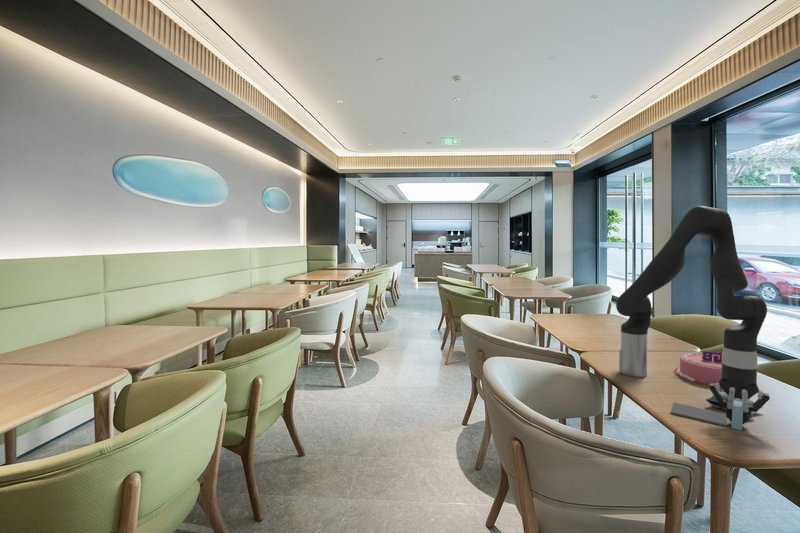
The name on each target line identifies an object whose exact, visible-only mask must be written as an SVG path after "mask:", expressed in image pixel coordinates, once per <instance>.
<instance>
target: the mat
mask: <svg viewBox="0 0 800 533" xmlns="http://www.w3.org/2000/svg"><path fill="white" fill-rule="evenodd" d="M670 414H671V415H675V416H680V417H682V418H687V419H692V420H695V421H700V422H705V423H709V424H713V425H718V426H722V427H727V413H724V412H719V411H714V410H710V409H707V408H706V409H705V408H703V407H701V408H700V407H697V406H692V405H687V404H683V403H677V402H673V404H672V407H671V410H670Z"/></svg>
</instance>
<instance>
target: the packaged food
mask: <svg viewBox="0 0 800 533" xmlns="http://www.w3.org/2000/svg"><path fill="white" fill-rule="evenodd" d="M719 393H720V394H721V396H722V398H723V399H724V400H725V401H727V400H728V395H727V394H726V393H725V391H719ZM734 400H736V401H741V402H742V400H741V399H739V398H734ZM704 401H706V402H708V404H709V405H711V406H712V407H715V408H718V409H721V410H724V411H727V408H726V407H725V406H723V405H720V404H719V402H718V401H717V399H716V398H715V396H714V395H713V394H712V396H711V397H710V396H709V397H708V398H705V400H704ZM754 403H755V402H754V400H751V398H750V399H748V406H752V405H753V404H754ZM760 409H763V406H762V407H761V408H760ZM748 415H752V416H755V412H749V413H748Z"/></svg>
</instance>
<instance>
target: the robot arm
mask: <svg viewBox="0 0 800 533" xmlns="http://www.w3.org/2000/svg"><path fill="white" fill-rule="evenodd" d="M697 235H701V236H705V237H706V236H707V237H709V238H710V239H711V241H712V242H713V244H714V245H713V246H714V253H713V255H712V257H711V261H710V270H711V274H712V276H713V277H712V278H713V280H714V283H715V285H716V311H717V313H718V314H719V315H720V317H722V318H723V319H725V320H728V321H729V320H730V321H741V323H739V325H735V326H731V327H726V328H725V329H724V332H723V349H722V352H721V353H722V373H721V380H720V381H719V383H715V384H713V383H710V384H709V386H708V388H709V390H710V391H711V393H712V395H714V396H715V398H716V399H717V401H718V402H719V404H720V405H723V406H725V407H726V408H727V410H726V420H728V419H729V422H731V421H732V405H733V401H734V398H739V399H741V400H742V405H743V422H742V425H745V423H746V424H747V423H748V422H749V414H748V413H749V412H753V413H757V412H758V411H760V410H761V409H762V408H761V407H763V406H764V405H765V404H766V403H768V401H770V395H769V393H766V392H764V391H762V390H760V388H759V387H758V386H759V385H758V384H757V383H758V382H757V380H758V354H757V349H758V348H757V346H758V335H759V334H760V331H761V328H762V326H763V324H764V322H765V319H766V317H767V315H768V314H767V313H768V306H767V303H766V302H765V300H764V299H762V298H761V297H760V296H755V295H735V294H734V293H737V292H741V291H743V290H746V289H747V288H748V285H749V282H748V279H747V277H746V274H745V272H744V269H743V266H742V265H741V263H740V259H739V257H738V256H739V255H738V252H737V247H736V241H735V233H734V227H733V223H732V218H731V216H730V214H729V213H728V212H727V211H726V210H724V209H722V208H716V207H710V206H705V205H704V206H703V205H697V206H694V207H692V208H690V210H688V211H687V213H686V214H685V215H684V216H683V218H682V219H681V220H680V222H679V223H678V225H677V227H676V229H675V230H674V231H673V233H672V235H671V236H669V239H668V240H667V241H666V243H665V244H664V245H663V246H662V248H661V249H660V250H659V251H658V253H657V254H656V255H655V256H654V257H653V259H652V260H651V261H650V262H649V263H648V265H647V266H646V268H645V269H644V270H643V271H642V272H641V273H640V275H638V277H637V278H636V279H635V281H634V282H632V284H631V285H630V286H629V287H628V288H626V289H625V291H623V293H622V294H620V296H619V297H618V298H617V300H616V305H615V307H616V310H617V312H618V313H619V314H620V315H621V316H624V317H629V318H628V319H627V320H626V321H625V322H623V323H622V324H621V325H620V349H619V350H618V352H619V356H618V357H619V359H618V360H619V363H618V373H620V374H623V375H626V376H629V377H635V378H641V377H642V378H643V377H646V376H648V375H647V374H648V334H649V333H648V331H649V328H650V327H651V326H650V325H651V318H652V303H651V302H652V301H651V300H650V297H649V295H651V294H652V293H654V292H655V291H657V290H659V289H661V288H663V287H664V286H666V285H667V284H669V283H670V282H671V281H673V280H674V279H675V277H677V275H678V274H679V273H680V272H681V271H682V269H683V268H684V266H685V262H686V249H687V247H688V245H689V243H690V242H691V241H692V240H693V238H694V237H695V236H697ZM719 387H721V388H719ZM720 389H722V390H723V392H725V393H726V394H727V395H728V400H727V401H725V400H724V399H723V398H722V396H721V394H720V393H719V392H720ZM755 395H757V396H756V397H757V400H756V401H755V402H754V404H753V405H752V406H748V399H750V400H751V398H752V397H754V396H755Z"/></svg>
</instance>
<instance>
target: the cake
mask: <svg viewBox="0 0 800 533" xmlns="http://www.w3.org/2000/svg"><path fill="white" fill-rule="evenodd" d="M713 353H714V354H713ZM673 373H674V374H675V375H676V376H677V377H678V378H681V379H683V380H685V381H688V382H691V383H695V384H697V385H701V386H707V387H709V384H710V383H713V384H715V383H719V381H720V380H721V373H722V352H720V351H714V352H713V350H712V351H711V350H703V351H702V352H689V353H685V354H682V355H681V356H680V358H679V367H676V368H674V370H673ZM719 388H720V389H722V388H721V387H719Z"/></svg>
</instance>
